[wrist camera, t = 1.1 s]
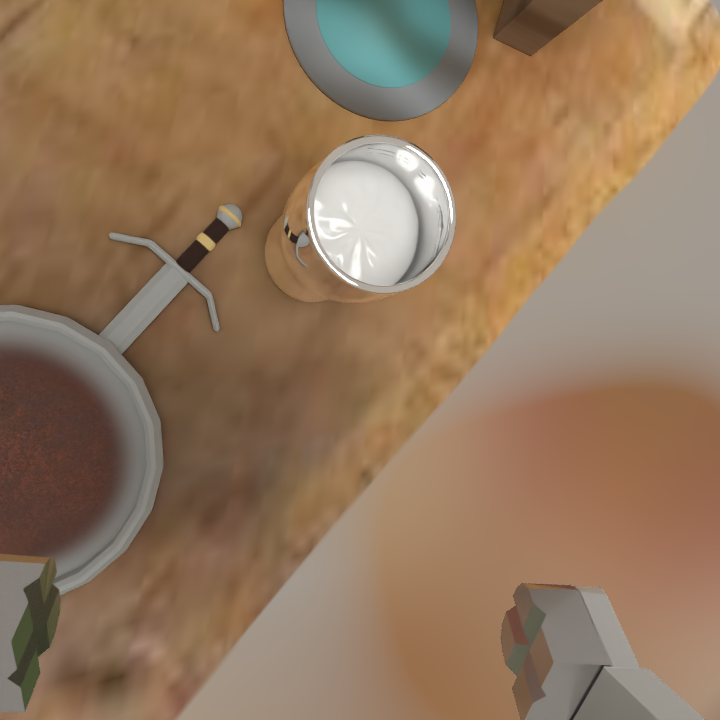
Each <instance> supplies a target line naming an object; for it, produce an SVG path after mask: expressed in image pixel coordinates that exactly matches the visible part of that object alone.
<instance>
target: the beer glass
mask: <svg viewBox="0 0 720 720" xmlns="http://www.w3.org/2000/svg"><path fill="white" fill-rule="evenodd" d="M455 229H456V207H455V201H454V196H453V193H452V190H451V187H450V184H449V182H448V180H447V178H446V176H445V174H444V173H443V171H442V170H441V168H440V167H439V166H438V164H437V163H436V162H435V161H434V160H433V159H432V158H431V157H430V156H429V155H428V154H427V153H426V152H425V151H424V150H422V149H421V148H419V147H418V146H416V145H415V144H413V143H411V142H409V141H407V140H404V139H401V138H398V137H394V136H389V135H366V136H361V137H358V138H355V139H352V140H349V141H347V142H345V143H343V144H342V145H340V146H339V147H337V148H336V149H334V150H333V151H332V152H331V153H330V154H329V155H328V156H326V157H325V158H323V159H322V160H321V161H319V162H318V163H317V164H316V165H314V166H313V167H312V168H311V169H310V170H309V171H308V172H307V173H306V174H305V175H304V176H303V177H302V178H301V180H300V181H299V182H298V184H297V185H296V187H295V188H294V190H293V191H292V193H291V195H290V196H289V198H288V200H287V203H286V205H285V208H284V212H283V215H282V216H281V217H280V218H279V219H278V220H277V221H276V222H275V223H274V224H273V226H272V227H271V229H270V231H269V233H268V235H267V238H266V242H265V249H264V256H265V263H266V267H267V270H268V272H269V274H270V276H271V278H272V280H273V281H274V283H275V284H276V285H277V286H278V287H279V288H280V289H281V290H282V291H283V292H284V293H286V294H287V295H289V296H290V297H292V298H295V299H297V300H300V301H304V302H323V301H326V300H329V299H330V300H334V301H338V302H344V303H363V302H371V301H375V300H379V299H383V298H387V297H389V296H392V295H394V294H397V293H399V292H402V291H405V290H408V289H411V288H413V287H415V286H417V285H419V284H421V283H422V282H424V281H425V280H427V279H428V278H429V277H430V276H431V275H432V274H433V273H434V272H435V271H436V270H437V269H438V268H439V267H440V265H441V264H442V263H443V261H444V260H445V258H446V256H447V254H448V252H449V250H450V248H451V245H452V242H453V239H454V234H455Z"/></svg>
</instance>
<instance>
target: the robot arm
mask: <svg viewBox="0 0 720 720" xmlns="http://www.w3.org/2000/svg"><path fill="white" fill-rule="evenodd" d="M56 573H57V569H56V563H55V559H54V558H47V557H35V556H22V555H10V554H0V712H25V711H26V708H27V706H28V703H29V701H30V698H31V695H32V693H33V690H34V688H35V685H36V682H37V680H38V677H39V675H40V667H39V661H38V657H39V656H40V655H41V654H42V653H43V652H45V651H46V650H47V649H48V648H49V647H50V645H51V643H52V640H53V637H54V634H55V632H56V627H57V623H58V618H59V614H60V591H59V589H58V588H57V587H56V586H55V585H53V584H52V583H53V581H54V578H55V576H56ZM513 597H514V601H515V604H516V606H514V607H513V608H511V609H510V610H508V611H507V612H506V614H505V617H504V620H503V623H502V630H501V644H502V652H503V656H504V660H505V664H506V666H508V668H509V669H510V670H511V671H512V672H513V673H514V674H515V675H516V676H517V678H516V680H515V683H514V685H513V687H512V690H513V693H514V697H515V701H516V705H517V708H518V712H519V715H520V719H521V720H705V719H704V718H703V717H702V716H701V715H699V714H698V713H697V712H696V711H695V710H694V709H693V708H692V707H690V706H689V705H688V704H687V703H686V702H685V701H684V700H683V699H682V698H681V697H679V696H678V695H677V694H676V693H675V692H674V691H673V690H672V689H670V688H669V687H668V686H667V685H666V684H665V683H664V682H663V681H662V680H660V679H659V678H658V677H657V676H656V675H655V674H654V673H652V672H651V671H650V670H649V669H648V668H640V666H639V664H638V662H637V660H636V657H635V656H634V653H633V651H632V649H631V647H630V645H629V642H628V640H627V638H626V636H625V634H624V632H623V629H622V628H621V625H620V623H619V621H618V619H617V617H616V614H615V612H614V610H613V608H612V606H611V604H610V602H609V599H608V597H607V595H606V593H605V592H604V591H603V590H602V589H601V588H600V587H586V586H571V585H557V584H532V583H531V584H530V583H521V584H520V585H519V586H518V587H517V588H516V590H515V593H514V595H513Z"/></svg>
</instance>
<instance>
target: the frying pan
mask: <svg viewBox="0 0 720 720" xmlns="http://www.w3.org/2000/svg"><path fill="white" fill-rule="evenodd" d="M241 222H242V212H241V210H240V209H239V208H238V207H237V206H236V205H234V204H225V205H220V206H219V207H218V211H217V218H216V219H215V220H214V221H213V222H212V223H211V224H210V225H209V227H208V228H207V229H206V230H205V231H204V232H202V233H200V234H199V235H198V236H197V237H196V240H195V241H194V243H193V244H192V245H191V246H190V247H189V248H188V249H187V250H186V251H185V252H184V253H183V254H182V255H181V256H180V257H179V259H178V260H177V261H175V260H174V259H173V258H172V257H171V256H170V255H169V254H167V253H166V252H165V251H164V250H163V249H162V248H161V247H160V246H158V245H157V244H156V243H155V242H154V241H152V240H150V239H145V238H139V237H134V236H129V235H124V234H119V233H114V232H112V233H109V234H108V235H109V237H110V239H111V240H116V241H121V242H126V243H131V244H136V245H142V246H147V247H148V248H150V249H151V250H152V251H153V252H154V253H155V254H156V255H157V256H159V257H160V258H161V259H162V260H163V261H164V262H165V263H166V264H165V265H164V266H163V267H162V268H161V269H160V270H159V271H158V272H157V273H156V274H155V275H154V276H153V277H152V279H151V280H150V281H149V282H148V283H147V284H146V285H145V286H144V287H143V288H142V289H141V290H140V291H139V292H138V293H137V294H136V296H135V297H134V298H133V299H132V300H131V301H130V302H129V303H128V304H127V305H126V306H125V307H124V308H123V309H122V310H121V312H120V313H119V314H118V315H117V316H116V317H115V318H114V319H113V320H112V321H111V322H110V323H109V324H108V325H107V326H106V327H105V329H104V330H103V331H102V332H101V333H100V334H99V335H97V334H95V333H94V332H92V331H90V330H89V329H87V328H85V327H84V326H82V325H80V324H79V323H77V322H75V321H74V320H72V319H70V318H68V317H66V316H62V315H57V314H53V313H49V312H45V311H41V310H37V309H33V308H28V307H24V306H20V305H0V554H10V555H22V556H35V557H47V558H54V559H55V563H56V569H57V573H56V576H55V578H54V581H53V583H52V584H53V585H55V586H56V587H57V588H58V589H59V591H60V595H62V594H64V593H67V592H69V591H71V590H73V589H75V588H78V587H80V586H82V585H84V584H86V583H89V582H90V581H91V580H92V579H93V578H94V577H96V576H97V575H98V574H99V573H100V572H102V571H103V570H104V569H105V568H106V567H107V566H109V565H110V564H111V563H112V562H113V561H114V560H116V559H117V558H118V557H119V556H120V555H121V554H123V553H124V552H125V551H126V550H127V549H128V547H129V545H130V544H131V542H132V541H133V539H134V538H135V536H136V535H137V533H138V531H139V530H140V528H141V527H142V525H143V524H144V522H145V520H146V519H147V517H148V516H149V514H150V513H151V511H152V509H153V505H154V501H155V497H156V493H157V490H158V486H159V482H160V478H161V474H162V470H163V467H164V462H163V448H162V434H161V421H160V418H159V416H158V414H157V411H156V409H155V406H154V404H153V402H152V399H151V397H150V395H149V392H148V390H147V388H146V385H145V383H144V381H143V378H142V377H141V376H140V375H139V374H138V373H137V372H136V370H135V369H134V368H133V367H132V366H131V365H130V364H129V363H128V361H127V360H126V359H125V358H124V357H123V356H122V355H121V354H122V353H123V352H124V351H125V350H126V349H127V348H128V347H129V346H130V345H131V344H132V343H133V341H134V340H135V339H136V338H137V337H138V336H139V335H140V334H141V333H142V332H143V331H144V330H145V329H146V327H147V326H148V325H149V324H150V323H151V322H152V321H153V320H154V319H155V318H156V317H157V316H158V315H159V313H160V312H161V311H162V310H163V309H164V308H165V307H166V306H167V305H168V304H169V303H170V302H171V300H172V299H173V298H174V297H175V296H176V295H177V294H178V293H179V292H180V291H181V290H182V289H183V288H184V286H185V285H186V284H187V283H189V284H190V285H192V286H193V287H194V288H195V289H196V290H197V291H198V292H200V293H201V294H202V295H203V296H204V297H205V298H206V299H207V303H208V308H209V312H210V316H211V321H212V325H213V330H214V331H216V332H218V331H219V328H220V327H219V322H218V318H217V314H216V309H215V305H214V300H213V296H212V293H211V292H210V291H209V290H208V289H207V288H206V287H205V286H204V285H202V284H201V283H200V282H199V281H198V280H197V279H196V278H195V277H193V276H192V275H191V274H190V273H189V272H190V271H191V270H192V269H193V268H194V267H195V266H196V265H197V264H198V263H199V262H200V261H201V259H202V258H203V257H204V256H205V255H206V254H207V253H208V252H210V251H212V250H213V249H214V248H215V246H216V243H217V242H218V241H219V240H220V239H221V238H222V237H223V236H224V235H225V234H226V233H227V231H228V230H230V229H235V228H237V227H241Z"/></svg>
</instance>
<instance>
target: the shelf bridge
mask: <svg viewBox="0 0 720 720" xmlns="http://www.w3.org/2000/svg"><path fill="white" fill-rule="evenodd" d="M601 1H602V0H504V2H503V6H502V9H501V12H500V16H499V19H498V23H497V26H496V29H495V33H494V36H493V38H495V39H497V40H499V41H501V42H503V43H505V44H507V45H509V46H511V47H513V48H515V49H517V50H519V51H521V52H523V53H525V54H528V55H530V56H531V55H533V54H534V53H535V52H537V51H538V50H539V49H540V48H542V47H543V46H544V45H546V44H547V43H548V42H549V41H551V40H552V39H553V38H555V37H556V36H557V35H558V34H560V33H561V32H562V31H564V30H565V29H566V28H568V27H569V26H570V25H571V24H573V23H574V22H575V21H577V20H578V19H579V18H580V17H582V16H583V15H584V14H586V13H587V12H588V11H590V10H591V9H592V8H593V7H595V6H596V5H597V4H599V3H600V2H601ZM283 9H284V20H285V26H286V31H287V34H288V38H289V41H290V44H291V47H292V49H293V51H294V54H295V56H296V58H297V60H298V62H299V63H300V65H301V67H302V69H303V70H304V71H305V73H306V74H307V76H308V77H309V78H310V80H311V81H312V82H313V83H314V84H315V85H316V86H317V87H318V89H319V90H320V91H321V92H323V93H324V94H325V95H326V96H327V97H328V98H330V99H331V100H332V101H334V102H335V103H337V104H338V105H340V106H341V107H343V108H345V109H347V110H349V111H351V112H353V113H355V114H358V115H360V116H363V117H366V118H371V119H375V120H382V121H400V120H407V119H412V118H416V117H419V116H421V115H424V114H427V113H428V112H430V111H432V110H434V109H436V108H437V107H439V106H440V105H441V104H442V103H444V102H445V101H446V100H447V99H449V98H450V97H451V96H452V94H453V93H454V92H455V91H456V90H457V89H458V88H459V86H460V85H461V83H462V82H463V81H464V79H465V77H466V75H467V73H468V71H469V69H470V67H471V64H472V61H473V58H474V55H475V50H476V46H477V37H478V18H477V10H476V4H475V0H283Z"/></svg>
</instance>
